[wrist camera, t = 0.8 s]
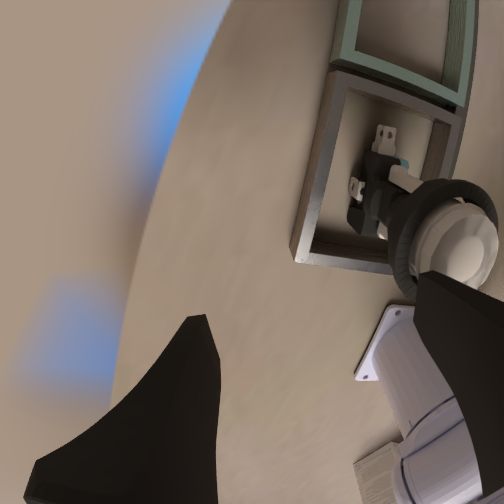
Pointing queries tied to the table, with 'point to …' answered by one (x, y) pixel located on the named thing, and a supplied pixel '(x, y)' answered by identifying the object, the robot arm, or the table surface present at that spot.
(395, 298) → the table surface
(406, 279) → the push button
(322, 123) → the grey teal rectangular frame
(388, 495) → the light bulb box
